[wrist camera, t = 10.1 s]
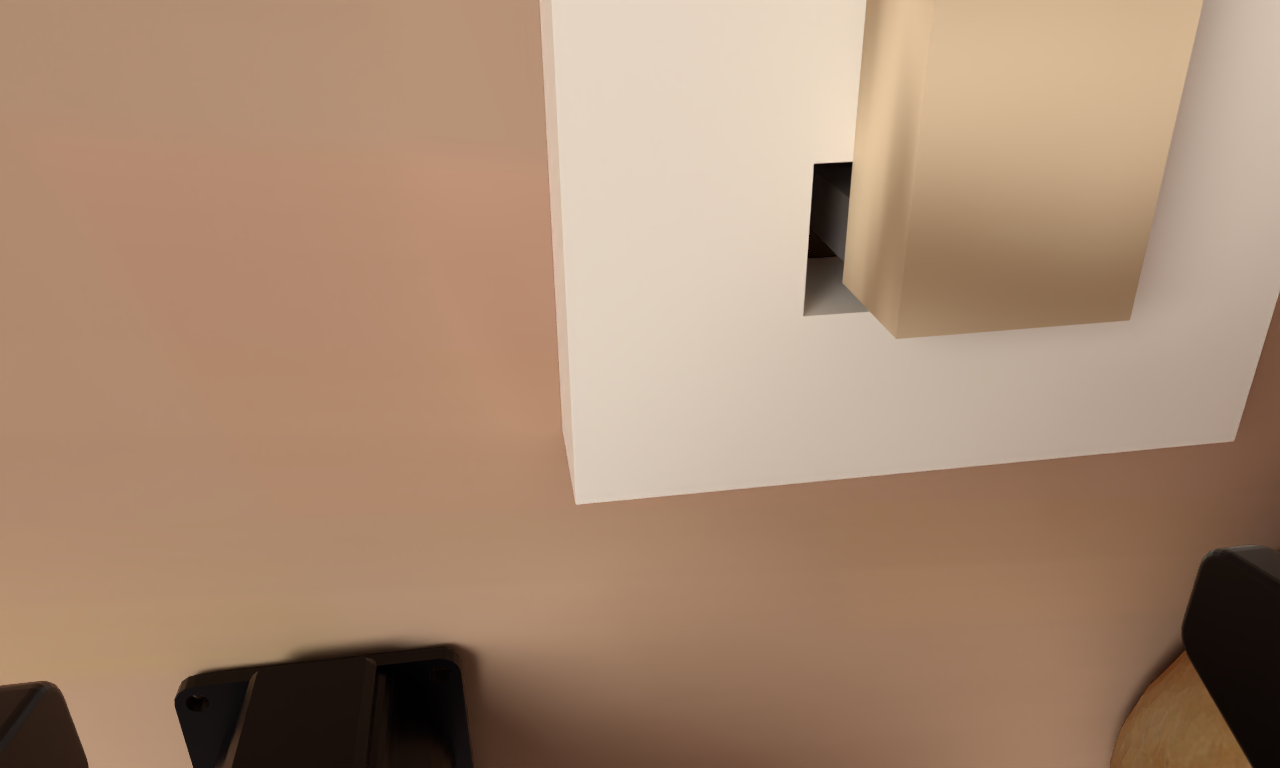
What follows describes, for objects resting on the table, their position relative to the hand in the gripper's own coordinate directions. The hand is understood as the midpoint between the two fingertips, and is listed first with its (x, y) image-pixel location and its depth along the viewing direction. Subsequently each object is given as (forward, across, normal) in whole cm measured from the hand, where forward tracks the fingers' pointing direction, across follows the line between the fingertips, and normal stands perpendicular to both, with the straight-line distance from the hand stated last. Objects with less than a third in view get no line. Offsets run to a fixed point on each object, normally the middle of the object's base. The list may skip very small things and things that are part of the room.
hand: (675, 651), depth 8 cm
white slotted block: (+13, -7, 0) cm, 15 cm away
